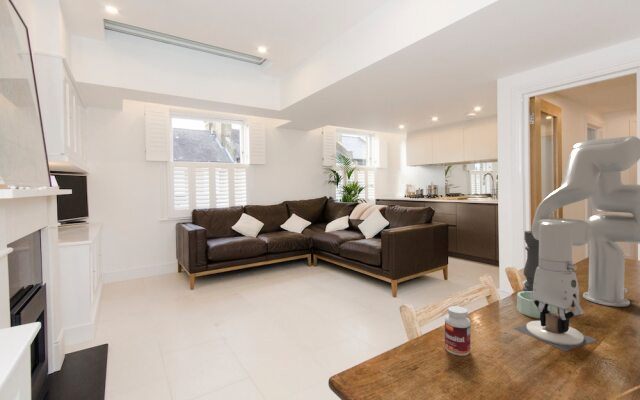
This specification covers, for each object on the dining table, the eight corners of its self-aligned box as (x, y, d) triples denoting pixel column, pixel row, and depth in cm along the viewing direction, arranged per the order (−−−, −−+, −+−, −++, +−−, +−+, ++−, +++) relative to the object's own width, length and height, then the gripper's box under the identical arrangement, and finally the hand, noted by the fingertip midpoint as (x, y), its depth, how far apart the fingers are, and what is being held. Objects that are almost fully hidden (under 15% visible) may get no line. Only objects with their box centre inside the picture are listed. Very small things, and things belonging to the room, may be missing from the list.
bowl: (531, 304, 112) (531, 289, 112) (565, 316, 102) (565, 299, 101) (509, 309, 108) (510, 294, 107) (543, 322, 98) (543, 305, 97)
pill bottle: (441, 351, 82) (441, 310, 82) (449, 342, 87) (449, 303, 86) (466, 359, 78) (466, 316, 78) (473, 349, 83) (473, 308, 82)
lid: (545, 320, 98) (545, 303, 98) (594, 339, 86) (594, 320, 86) (516, 328, 93) (516, 310, 93) (564, 349, 81) (564, 329, 81)
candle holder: (546, 300, 115) (547, 233, 114) (527, 299, 116) (528, 233, 115) (538, 295, 121) (538, 230, 120) (520, 294, 122) (520, 230, 121)
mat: (544, 321, 99) (544, 319, 99) (597, 341, 86) (597, 339, 86) (513, 329, 93) (513, 328, 93) (565, 352, 80) (565, 350, 80)
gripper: (598, 270, 82) (596, 339, 83) (533, 257, 98) (533, 315, 98) (580, 274, 79) (579, 345, 80) (517, 260, 95) (516, 319, 96)
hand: (553, 328), depth 89 cm, fingers closed on lid, 4 cm apart
